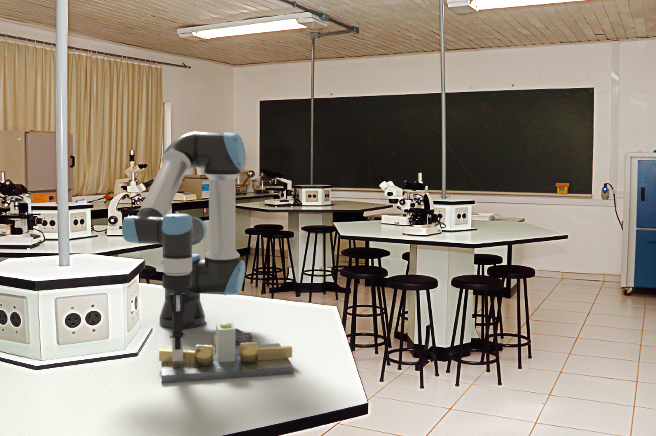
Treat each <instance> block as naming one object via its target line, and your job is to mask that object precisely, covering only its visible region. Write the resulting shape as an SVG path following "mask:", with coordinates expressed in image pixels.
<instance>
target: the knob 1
mask: <svg viewBox="0 0 656 436" xmlns="http://www.w3.org/2000/svg"><path fill="white" fill-rule="evenodd" d="M194 348H195V351H190V350H183V361H172V350H171V349H167V348H165V349H163V348H162V349H159V351H158V357H159V358H158V360H159V361H158V362H162V361H170V362H192V363H195V364H197V365H210V364H212V363H213V362H214V344H213V345H212V344H196V345H195V346H194Z"/></svg>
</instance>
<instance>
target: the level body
mask: <svg viewBox="0 0 656 436" xmlns="http://www.w3.org/2000/svg"><path fill="white" fill-rule="evenodd" d="M215 327H216V328H215V332H216V357H217V361H218V362H231V361H235V328H236V326H235V324H234V323H233V322H221V323H216V324H215Z"/></svg>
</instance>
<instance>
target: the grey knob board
mask: <svg viewBox="0 0 656 436" xmlns="http://www.w3.org/2000/svg"><path fill="white" fill-rule="evenodd" d="M214 335H215V334H214ZM214 335H213V347H214V362H213V363H212V364H210V365H197V364H195V363H192V362H170V361H161V384H169V383H181V382H197V381H208V380H209V381H210V380H225V379H227V380H228V379H239V378H252V377H253V378H255V377H264V376H265V377H268V376H280V375H282V376H283V375H293V374H294V365H293V364H292V362H291V359H289V358H275V359H260V360H257V361H255V362H242V361H240V360H239V353H240V346H235V361H231V362H218V361H217V357H216V335H215V336H214ZM267 347H282V345H281V344H280V343H276V342H275V343H264V344H262V343H260V344H258V348H267ZM170 350H172V348H171V349H170ZM183 350H190V351H195V347H193V348H190V347H189V348H183Z"/></svg>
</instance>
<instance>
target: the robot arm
mask: <svg viewBox="0 0 656 436" xmlns="http://www.w3.org/2000/svg"><path fill="white" fill-rule="evenodd" d="M246 156H247V155H246V148H245V143H244V141H243V138H242V137H241V135H240V134H238V133H235V132H229V131H228V132H227V131H223V132H222V131H221V132H220V131H219V132H218V131H191V132H186V133H184V134H183V135H181V136H179V137H178V138H176V139H175V140H174V141H172V142H171V143H170V144H169V145H168V146H167V147H166V149H165V150H164V152H163V154H162V156H161V159H160V161H161V165H160V168H159V170H158V171H157V174H156V176H155V178H154V180H153V182H152V184H151V185H150V188H149V191H148V193H147V194H146V197H145V199H144V200H143V202H142V204H141V207H140V208H139V210H138V213H137V214H136V215H128V216H126V217H124V219H123V221H122V225H121V233H122V238H123V239H124V240H125V242H127V243H130V244H131V243H132V244H133V243H134V244H145V245H146V244H148V245H149V244H150V245H151V244H154V245H162V260H160V262H159V263H160V264H161V265H162V272H163V273H162V287H163V289H164V302H163V306H162V308H161V311H160V315H159V325H161V326H162V327H164V328H169V329H171V330H172V332H171V334H169V338H170V339H171V342H172V343H171V345H172V347H171V349H172V361H183V349H184V335H186V331H184V329H190V328H196V327H200V326H202V325H203V324H205V322H206V315H205V310H204V309H203V304H202V302H201V294H205V295H206V294H207V295H221V296H222V295H223V296H228V295H229V296H233V295H234V296H235V295H237V294H239V293H240V291H241V289H242V287H243V283H244V280H245V273H246V263H245V262H246V261H244V260H242V259H241V255H240V253H239V252H238V251H237V250H236V179H237V178H238V177H239V176H240V175H241V170H243V169H245V167H246V160H247V159H246V158H247V157H246ZM194 168H199V169H200V168H201V169H203V174H204V175H205V176H206V177H207V178H208V215H209V216H208V218H209V219H208V220H209V221H208V222H209V225H208V228H209V229H208V230H209V232H208V234H209V241H208V242H209V243H208V244H209V245H208V247H209V250H208V251H207V252H206V253H205V255H204V258H201V254H199V253H193V246H194V245H197V244H200V242H201V241H203V240H204V239H205V238H206V235H207V227H206V224H205V222H204V220H203V219H201V218H199V217H196V216H192V215H190V214H188V213H169V210H170V208H171V206H172V204H173V202H174V200H175V196H176V194H177V193H178V190H179V188H180V186H181V183H182V181H183V179H184V176H185V175H187V174H189V172H190V171H191V169H194Z"/></svg>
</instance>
